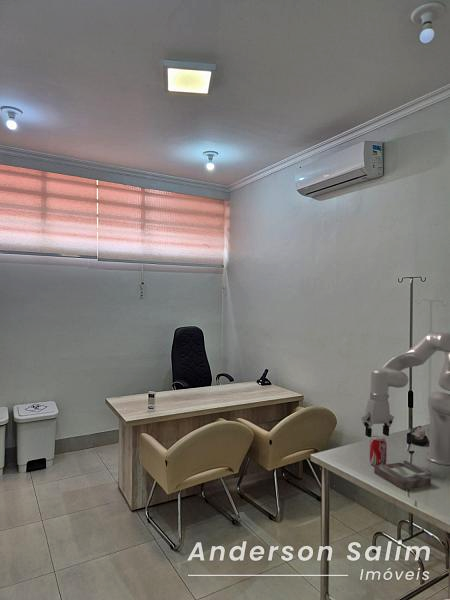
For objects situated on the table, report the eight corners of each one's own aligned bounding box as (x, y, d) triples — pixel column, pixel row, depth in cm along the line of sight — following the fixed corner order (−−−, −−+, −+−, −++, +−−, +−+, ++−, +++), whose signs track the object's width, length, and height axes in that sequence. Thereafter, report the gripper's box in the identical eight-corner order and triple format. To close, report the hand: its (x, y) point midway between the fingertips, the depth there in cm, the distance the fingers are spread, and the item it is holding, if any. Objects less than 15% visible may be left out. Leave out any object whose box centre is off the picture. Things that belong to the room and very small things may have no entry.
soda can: (375, 468, 171) (376, 441, 172) (366, 462, 178) (366, 435, 178) (389, 467, 173) (390, 440, 174) (379, 461, 180) (380, 434, 180)
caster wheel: (420, 451, 201) (404, 442, 210) (435, 444, 205) (419, 435, 214) (419, 439, 200) (404, 431, 209) (435, 433, 204) (419, 424, 213)
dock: (400, 469, 171) (400, 457, 171) (430, 485, 156) (431, 473, 156) (374, 473, 166) (374, 461, 167) (403, 490, 151) (403, 477, 152)
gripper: (388, 395, 183) (386, 432, 182) (357, 396, 177) (355, 434, 176) (400, 399, 176) (398, 437, 175) (369, 400, 170) (367, 439, 169)
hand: (377, 435), depth 176 cm, fingers open, 9 cm apart
